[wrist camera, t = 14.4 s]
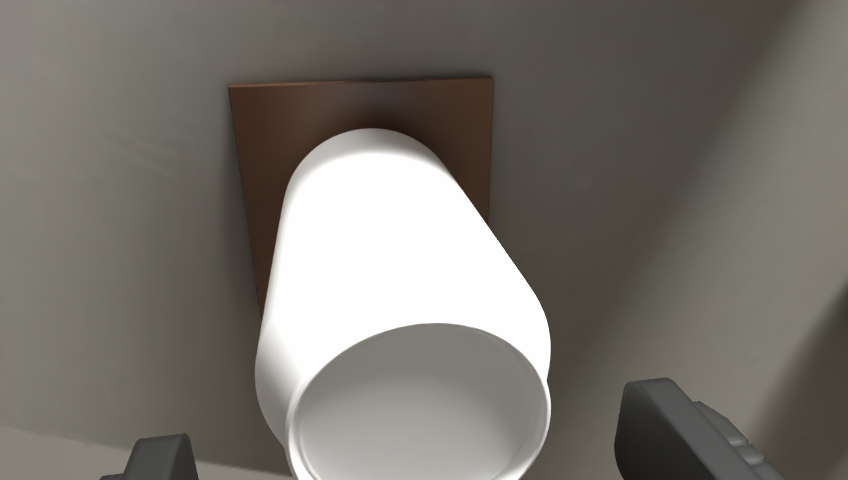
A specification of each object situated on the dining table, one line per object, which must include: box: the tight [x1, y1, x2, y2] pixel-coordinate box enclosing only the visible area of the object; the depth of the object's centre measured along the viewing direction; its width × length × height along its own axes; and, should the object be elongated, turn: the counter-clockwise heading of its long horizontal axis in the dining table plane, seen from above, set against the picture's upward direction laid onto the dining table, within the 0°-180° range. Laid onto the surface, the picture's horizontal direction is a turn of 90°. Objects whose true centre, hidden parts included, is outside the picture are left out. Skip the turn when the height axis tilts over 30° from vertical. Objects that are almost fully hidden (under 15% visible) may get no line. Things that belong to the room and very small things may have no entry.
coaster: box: [228, 76, 494, 320], centre depth 21 cm, size 9×9×1 cm
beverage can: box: [255, 128, 551, 480], centre depth 16 cm, size 6×6×12 cm
